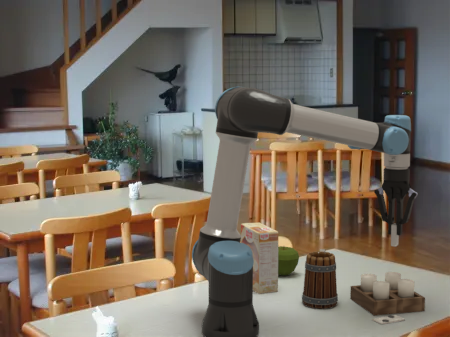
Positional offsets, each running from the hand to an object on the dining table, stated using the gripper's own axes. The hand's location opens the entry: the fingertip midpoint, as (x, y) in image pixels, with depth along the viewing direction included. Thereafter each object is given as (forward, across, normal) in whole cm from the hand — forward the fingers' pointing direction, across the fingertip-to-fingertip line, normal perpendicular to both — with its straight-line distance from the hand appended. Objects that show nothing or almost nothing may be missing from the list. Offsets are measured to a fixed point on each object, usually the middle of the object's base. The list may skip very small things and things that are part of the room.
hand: (394, 245), depth 221 cm
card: (+17, +5, -19) cm, 26 cm away
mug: (+17, -18, -13) cm, 28 cm away
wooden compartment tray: (+17, 0, -6) cm, 18 cm away
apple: (+17, -41, +8) cm, 45 cm away
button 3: (+14, 0, 0) cm, 14 cm away
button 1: (+14, -6, -6) cm, 16 cm away
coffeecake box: (+17, -41, -9) cm, 45 cm away
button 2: (+14, 0, -12) cm, 18 cm away
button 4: (+14, +6, -6) cm, 16 cm away
